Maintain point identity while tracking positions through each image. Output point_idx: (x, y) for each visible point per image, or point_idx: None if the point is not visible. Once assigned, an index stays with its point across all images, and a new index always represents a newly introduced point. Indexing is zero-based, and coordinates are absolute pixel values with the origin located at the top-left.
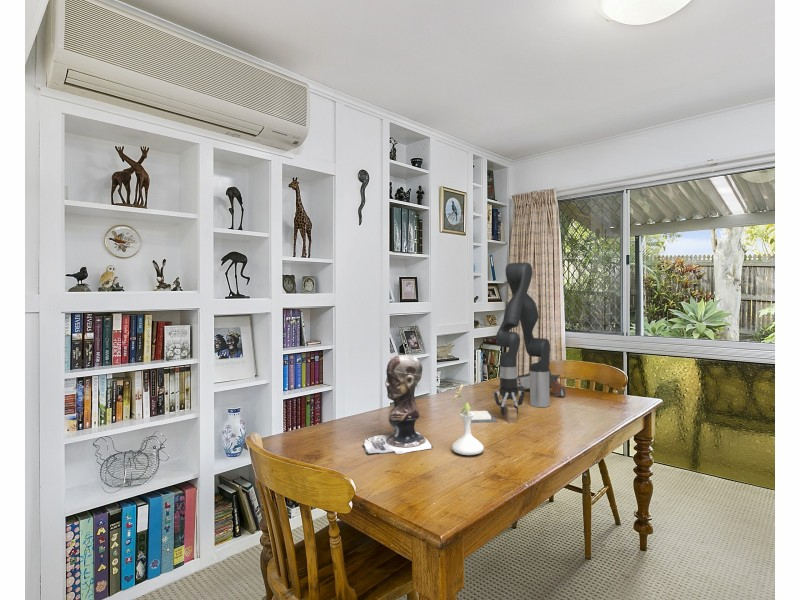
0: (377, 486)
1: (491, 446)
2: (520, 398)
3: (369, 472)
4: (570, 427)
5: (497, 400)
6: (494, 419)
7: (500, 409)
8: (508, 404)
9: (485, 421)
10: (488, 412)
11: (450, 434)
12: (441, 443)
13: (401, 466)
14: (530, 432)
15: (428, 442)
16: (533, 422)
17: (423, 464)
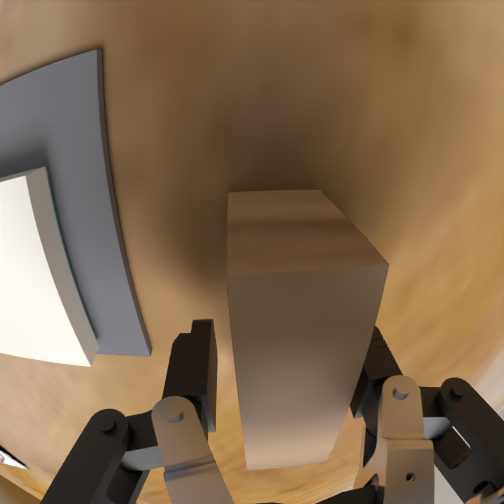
0: (41, 497)
1: (150, 497)
2: (452, 478)
3: (10, 478)
4: (491, 381)
5: (115, 502)
6: (125, 327)
7: (168, 366)
8: (321, 324)
9: None
10: (71, 71)
11: (10, 427)
12: (27, 458)
13: (30, 484)
14: None
15: (7, 456)
16: (416, 349)
17: None
